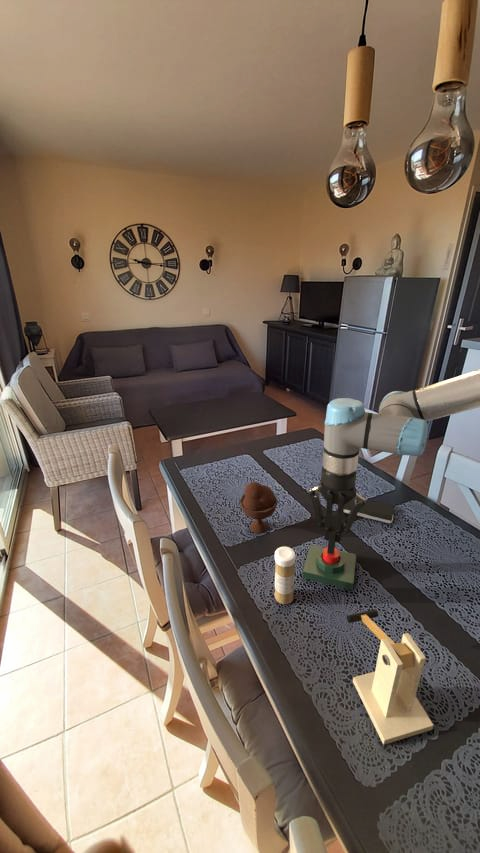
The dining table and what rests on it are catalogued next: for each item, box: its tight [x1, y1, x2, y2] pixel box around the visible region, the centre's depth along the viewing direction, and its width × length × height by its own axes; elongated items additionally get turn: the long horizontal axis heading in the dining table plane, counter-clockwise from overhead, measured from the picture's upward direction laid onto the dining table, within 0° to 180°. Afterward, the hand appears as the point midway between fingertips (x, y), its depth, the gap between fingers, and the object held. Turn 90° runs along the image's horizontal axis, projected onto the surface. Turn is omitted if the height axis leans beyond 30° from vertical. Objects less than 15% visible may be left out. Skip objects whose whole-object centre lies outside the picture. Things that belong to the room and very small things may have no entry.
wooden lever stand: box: [352, 632, 434, 746], centre depth 60 cm, size 10×9×15 cm
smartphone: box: [343, 498, 395, 524], centre depth 113 cm, size 8×1×15 cm
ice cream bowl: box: [239, 481, 279, 534], centre depth 105 cm, size 11×11×15 cm
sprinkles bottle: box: [274, 546, 297, 605], centre depth 82 cm, size 5×5×14 cm
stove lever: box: [346, 609, 414, 670], centre depth 64 cm, size 14×6×2 cm, turn 11°
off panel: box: [302, 544, 357, 591], centre depth 91 cm, size 12×10×4 cm
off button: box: [323, 546, 340, 564], centre depth 90 cm, size 4×4×2 cm
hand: (331, 549), depth 89 cm, fingers closed
